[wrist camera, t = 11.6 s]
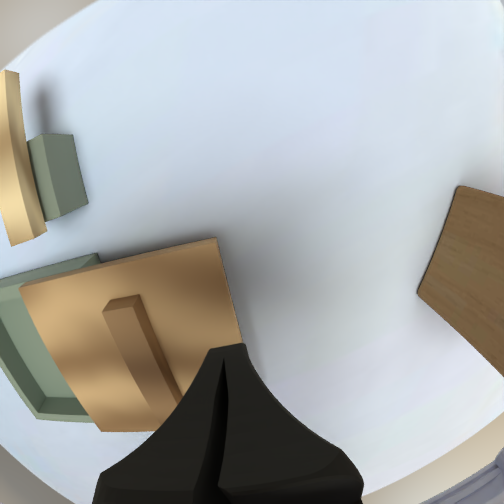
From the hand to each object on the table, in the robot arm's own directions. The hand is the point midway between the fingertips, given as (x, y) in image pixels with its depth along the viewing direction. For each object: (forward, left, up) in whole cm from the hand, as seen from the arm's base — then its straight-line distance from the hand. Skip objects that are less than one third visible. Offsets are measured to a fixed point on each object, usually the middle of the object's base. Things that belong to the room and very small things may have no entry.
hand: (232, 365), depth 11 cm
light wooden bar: (+11, +11, -6) cm, 16 cm away
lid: (-4, +7, -7) cm, 11 cm away
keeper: (+9, +11, -10) cm, 17 cm away
